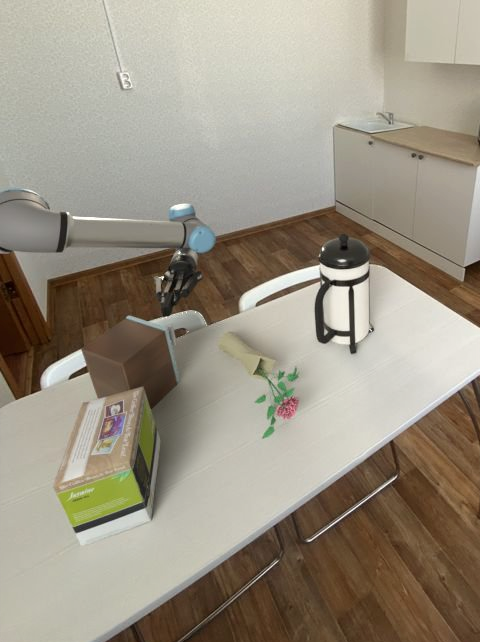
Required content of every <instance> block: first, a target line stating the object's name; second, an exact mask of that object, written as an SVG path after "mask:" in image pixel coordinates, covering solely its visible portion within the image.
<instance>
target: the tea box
mask: <svg viewBox="0 0 480 642" xmlns="http://www.w3.org/2000/svg"><path fill="white" fill-rule="evenodd" d="M161 443H162V442H161V437H160V434H159V431H158V428H157V425H156V422H155V419H154V415H153V412H152V409H150V406H149V403H148V400H147V396H146V393H145V390H144V387H139V388H136V389H132V390H129V391H125V392H122V393H118V394H114V395H111V396H107V397H104V398H100V399H98V398H96V399H93V400H89V401H86V402H85V401H84V402H82V404H81V407H80V409H79V412H78V413H77V417H76V420H75V423H74V425H73V428H72V431H71V434H70V437H69V440H68V443H67V445H66V448H65V450H64V453H63V457H62V459H61V461H60V464H59V468H58V470H57V474H56V476H55V480H54V482H53V485H52V488H53V490H54V493H55V495H56V496H57V499H58V501H59V503H60V505H61V506H62V509H63V511H64V513H65V515H66V517H67V519H68V521H69V524H70V526H71V528H72V530H73V531H74V534H75V536H76V538H77V540H78V542H79V544H80V546H81V547H84V546H87V545H90V544H93V543H95V542H98V541H101V540H104V539H106V538H110V537H112V536H116V535H117V534H120V533H123V532H126V531H128V530H131V529H134V528H136V527H139V526H141V525H144V524H147V523H149V522H151V521H152V516H153V507H154V499H155V492H156V484H157V475H158V467H159V460H160V451H161Z"/></svg>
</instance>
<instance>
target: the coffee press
mask: <svg viewBox="0 0 480 642" xmlns="http://www.w3.org/2000/svg"><path fill="white" fill-rule="evenodd" d="M317 259H318V262H319V284H320V287H319V289H318V291H317V293H316V296H315V299H314V324H315V336H316V340H317V342H319V343H320V344H322V345H327V344H328V343H329V342H330V341H331V342H333V343H334V344H338V345H342V346H348V347H349V352H350V354H351V355H354V354H355V355H356V354H357V346H356V344H357V343H360V342H361V341H362V340H364V339H365V338H366V337H367V335H368V333H374V331H375V327H374V326H373V324H372V323H371V305H370V304H371V303H370V302H371V298H370V297H371V296H370V295H371V294H370V292H371V291H370V275H371V274H370V273H371V267H370V259H371V250H370V249H369V247H368V246H367V245H366V244H365V242H363V241H361V240H360V239H357V238H355V237H350V236H348V234H346V233H341V234H339V237H335V238H333V239H330V240H328V241H327V242H325V243H324V244H323V245H322V246H321V248H320V250H319V251H318V253H317ZM370 327H371V328H370ZM369 329H371V330H372V332H370V330H369Z"/></svg>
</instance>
